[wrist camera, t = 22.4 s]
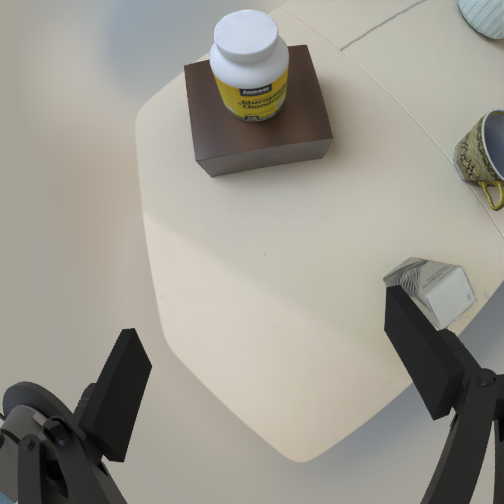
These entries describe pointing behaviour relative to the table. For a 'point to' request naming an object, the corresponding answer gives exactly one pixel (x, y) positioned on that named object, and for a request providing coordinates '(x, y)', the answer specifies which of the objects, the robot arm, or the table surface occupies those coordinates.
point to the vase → (484, 16)
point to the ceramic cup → (484, 155)
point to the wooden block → (258, 122)
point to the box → (434, 289)
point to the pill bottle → (250, 64)
